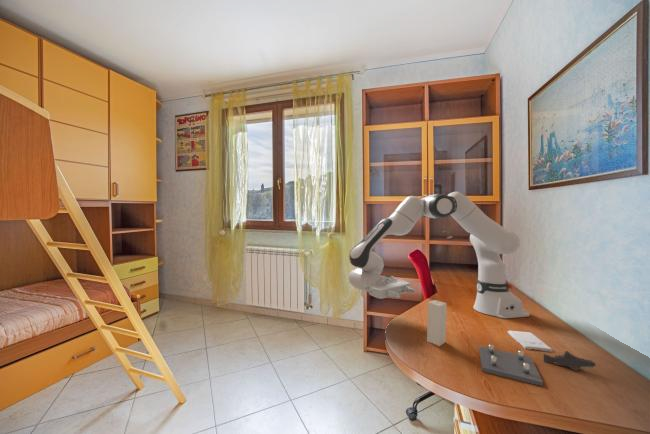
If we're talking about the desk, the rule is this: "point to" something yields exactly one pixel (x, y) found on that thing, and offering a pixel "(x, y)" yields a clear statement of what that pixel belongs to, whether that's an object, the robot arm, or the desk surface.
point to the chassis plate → (509, 365)
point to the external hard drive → (529, 341)
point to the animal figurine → (570, 361)
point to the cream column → (436, 322)
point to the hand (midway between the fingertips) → (406, 293)
